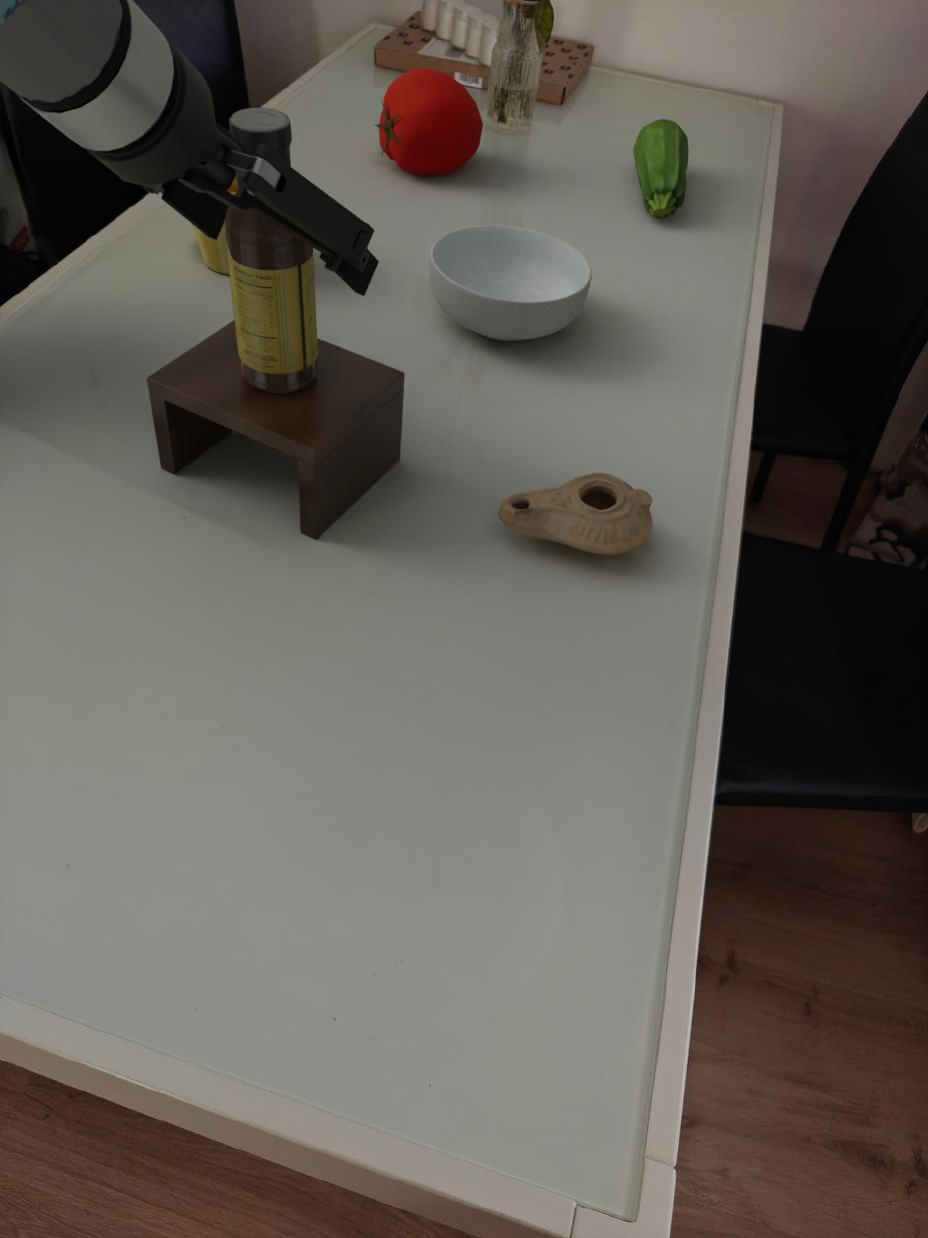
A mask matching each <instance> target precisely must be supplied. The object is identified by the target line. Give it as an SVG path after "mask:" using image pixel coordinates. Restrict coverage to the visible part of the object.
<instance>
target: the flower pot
mask: <svg viewBox="0 0 928 1238" xmlns="http://www.w3.org/2000/svg"><path fill="white" fill-rule="evenodd" d="M236 175H237V174H236ZM237 189H238V188H237V181H236V176H235V178H234V181H233V183H232V185H231V187H230V188H229V189H228V190H226V191H228V192H229V193H231V194H233V195H235V193H236V191H237ZM225 220H226V219H225ZM191 224H192V223H191ZM225 224H226V223H225V221H224V224H223V226H222V229H221V231H220V233H219V236H218V238H217V240H214V239H212V238H209V237H208V236H207V235H205V234H204V233H203V232H202V231H200V230H199V229H198V228H197V227H195V226H194V225H193V224H192V227H193V231H194V234H195V237H196V240H197V243H198V246H199V250H200V253H201V256H202V259H203V262H204V264H205V265H206V266H207V267H208V268H209V269H210V270H212V271H214V272H215V273H216V272H217V273H219V274H223V275H229V276H230V273H229V264H228V256H227V251H226V250H227V249H226V237H225V232H226V226H225Z"/></svg>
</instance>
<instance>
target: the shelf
mask: <svg viewBox="0 0 928 1238" xmlns="http://www.w3.org/2000/svg"><path fill="white" fill-rule="evenodd" d="M317 343H318V355H317V372H316V375H315V377H314V379H313V380H312V382H311V383H310V384H309V385H308V386H306V387H305V388H303V389H299V390H297V391H293V392H288V393H284V394H277V393H272V392H268V391H263V390H260V389H258V388H255V387H253V386H252V385H250V384H249V383H248V381H247V380H246V378H245V376H244V374H243V372H242V366H241V359H240V357H239V353H238V345H237V337H236V328H235V319H233V320H232V321H230V322H229V323H227V324H225V325H224V326H223V327H221V328H220V329H218V330H217V331H215V332H214V333H212V334H210V335H209V336H207V337H206V338H204V339H203V340H201V341H200V342H198V343H197V344H195V345H194V346H193V347H191V348H189V349H187V351H185V352H183V353H182V354H181V355H179V356H177V357H176V358H174V359H173V360H171V361H169V362H168V363H167V364H166V365H164V366H162V367H161V368H159V369H157V370H156V371H155V372H153V373H151V374H150V375H148V376H147V377H146V384H147V388H148V389H147V390H148V393H149V394H148V397H149V403H150V409H151V415H152V421H153V427H154V428H153V429H154V434H155V440H156V446H157V452H158V458H159V465H160V468H161V469H162V470H164V471H166V472H168V473H171V474H173V475H178V474H179V473H180V472H181V471H182V470H184V469H185V468H186V467H188V466H189V465H190V464H191V463H193V462H194V461H195V460H197V459H198V458H200V457H201V456H203V454H204V453H206V452H208V451H209V450H210V449H211V448H212V447H214V446H215V445H216V444H217V443H219V442H220V441H222V439H224V438H225V437H226V436H228V435H229V434H231V432H233V431H234V432H236V433H239V434H240V435H243V436H245V437H248V438H250V439H252V440H254V441H257V442H259V443H261V444H263V445H266V446H268V447H270V448H273V449H275V450H277V451H280V452H281V453H284V454H286V455H289V456H291V457H293V458H296V459H297V470H298V471H297V475H298V498H299V499H298V501H299V502H298V503H299V529H300V534H301V535H302V534H303V535H304V536H307V537H309V538H311V539H313V540H316V541H317V540H319V538H320V537H322V536H323V535H324V534H325V533H326V532H327V531H328V530H329V529H330V528H331V527H332V526H333V525H334V524H335V523H336V522H337V521H338V520H339V519H340V518H342V516H343V515H344V514H345V513H346V512H347V511H348V510H349V509H351V508H352V506H353V505H354V504H356V502H358V500H360V499H361V498H362V497H363V496H364V495H365V494H366V493H367V492H368V491H369V490H371V488H373V486H374V485H375V484H376V483H377V482H378V481H380V480H381V478H383V476H385V475H386V474H387V472H389V471H390V469H392V468H393V467H394V466H395V465H396V464H397V463H398V462H399V461H400V460H401V450H402V448H401V447H402V433H403V430H402V429H403V414H404V400H405V399H404V398H405V397H404V396H405V377H406V376H405V375H406V373H405V371H403V370H399V369H397V368H394V367H392V366H389V365H387V364H384V363H381V362H378V361H377V360H375V359H372V358H368V357H366V356H364V355H362V354H359V353H357V352H354V351H351V350H348V349H346V348H343V347H341V346H339V345H336V344H334V343H331V342H329V341H326V340H324V339H321V338H319V337H317Z"/></svg>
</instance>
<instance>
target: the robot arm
mask: <svg viewBox="0 0 928 1238" xmlns="http://www.w3.org/2000/svg"><path fill="white" fill-rule="evenodd" d="M0 82H1V83H2V84H3V85H5V86H6V87H7V88H8V89H10V90H11V91H12V92H14V93H15V94H16V95H17V96H18V97H19V99H20V100H21V101H22V102H23V103H25V104H26V105H27V106H29V107H30V108H31V109H32V110H33V111H35V112H36V113H37V114H38V115H39V116H41V117H42V118H43V119H45V120H46V121H47V122H48V123H50V124H51V125H52V126H53V127H54V128H56V129H57V130H58V131H59V132H61V133H62V134H63V135H64V136H66V137H67V138H68V139H70V141H73V142H74V143H75V144H77V145H79V146H80V147H81V148H83V149H84V150H85V151H86V152H87V153H88V154H90V155H91V156H93V157H94V158H95V159H96V160H98V161H99V162H100V163H101V164H103V165H104V166H105V167H106V168H108V169H109V170H110V171H112V172H113V173H114V174H115V175H116V176H118V178H120V180H121V181H123V182H125V183H131V184H134V185H138V186H141V187H142V188H143V189H144V190H145V191H146V192H148V193H149V194H151V195H153V194H154V195H159V194H161V198H160V199H161V200H162V201H163V202H165V203H166V205H168V206H170V207H171V208H172V209H173V210H175V211H176V212H177V213H178V214H179V215H181V216H182V217H183V218H184V219H186V220H187V222H189V223H191V224H193V225H194V226H195V227H197V228H198V229H199V230H200V231H202V232H203V233H204V234H205V235H207V236H208V237H209V238H212V239H214V240H217V238H218V236H219V233H220V231H221V229H222V226H223V224H224V221H225V219H226V212H227V209H228V206H229V207H231V208H232V209H234V210H236V211H243V210H248V209H250V210H251V211H253V212H255V213H256V214H258V215H260V216H261V217H263V218H265V219H266V220H268V221H270V222H271V223H273V224H275V225H276V226H278V227H280V228H281V229H283V230H285V231H286V232H288V233H290V234H291V235H293V236H295V237H296V238H298V239H300V240H301V241H303V242H305V243H306V244H308V245H310V246H311V247H313V249H314V250H316V251H318V252H319V253H320V254H319V255H318V258H319V259H320V260H321V261H322V262H323V263H325V265H324V269H325V270H328V271H331V272H333V273H335V274H336V275H337V276H338V277H339V279H341V280H342V281H343V282H344V283H345V284H346V285H347V286H348V287H349V288H350V289H351V290H352V291H353V292H354V293H355V294H357V295H361V296H362V297H365V296H366V293H367V291H368V288H369V286H370V284H371V282H372V279H373V277H374V274H375V272H376V270H377V268H378V266H379V262H380V261H379V260H378V259H377V258H376V256H375V255H374V254H373V253H372V252H371V251H370V250H369V245H370V243H371V240H372V239H373V236H374V233H375V231H376V230H375V229H374V227H372V226H371V224H369V223H367V222H365V221H364V220H363V219H362V218H360V217H359V216H357V215H356V214H355V213H354V212H353V211H351V210H349V209H348V208H346V206H344V205H343V204H342V203H340V202H338V201H337V200H336V199H335V198H333V197H332V196H331V195H329V194H328V193H327V192H325V191H324V190H323V189H321V188H320V187H318V185H316V184H314V183H313V182H312V181H311V180H309V179H308V178H307V177H305V176H304V175H303V174H301V173H300V172H299V171H297V170H296V169H295V168H293V167H292V165H291V166H290V165H289V164H287V163H286V162H285V161H284V160H283V159H282V158H281V157H280V156H279V155H278V154H277V153H276V152H275V151H274V150H273V148H271V147H270V146H268V145H264V144H258V147H257V149H256V151H255V152H254V151H252V150H251V149H249V148H248V147H246V146H244V145H243V144H241V143H240V142H238V141H237V140H235V139H234V138H233V137H232V135H231V133H230V130H228V129H227V128H225V127H224V126H223V125H221V124H220V123H218V122H217V121H216V116H215V114H216V113H215V108H214V100H213V96H212V93H211V89H210V87H209V84H208V83H207V81H206V79H205V77H204V76H203V75H202V74H201V72H200V71H199V70H198V69H197V68H196V67H195V65H194V64H192V62H191V61H190V60H189V59H188V58H187V56H185V55H184V54H183V53H182V51H181V50H180V49H179V48H178V47H177V45H175V44H174V42H172V40H171V39H170V38H168V37H167V36H166V35H164V34H163V32H162V31H161V30H160V29H159V28H158V26H157V25H155V23H154V22H153V21H152V20H151V19H150V18H149V16H148V15H147V14H145V12H144V11H143V10H142V9H141V8H140V7H139V5H138V4H137V3H136V2H135V1H134V0H0ZM236 174H239V175H242V176H243V177H244V179H243V181H242V183H241V186H240V188H239V191H238V193H237V196H234V195H233V194H231V193H229V192H228V191H226V190H228V189H229V188H230V187H231V185H232V183H233V181H234V178H235V176H236ZM193 225H192V226H193Z"/></svg>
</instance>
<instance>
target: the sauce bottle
mask: <svg viewBox="0 0 928 1238" xmlns="http://www.w3.org/2000/svg"><path fill="white" fill-rule="evenodd" d="M228 127H229V132H230V133H231V135H232V137H233V138H234V139H235V140H237V141H238V142H240V143H241V144H243V145H244V146H246V147H248V148H249V149H251V150H252V151H254V152H255V151H256V149H257V147H258V144H264V145H268V146H270V147H271V148H273V150H274V151H275V152H276V153H277V154H278V155H279V156H280V157H281V158H282V159H283V160H284V161H285V162H286V163H287V164H289V165H290V166H291V167H292V163H291V143H292V141H293V134H292V124H291V120H290V117H289V115H287V114H286V113H284V112H283V111H281V110H278V109H275V108H270V107H249V108H243V109H239V110H237V111H235V112H234V113H232V114H231V117H230V118H229V120H228ZM243 179H244V177H243V176H242V175H239V174H237V175H236V181H237V188H238V189H237V191H236V193H235V195H234V196H237V193H238V191H239V188H240V186H241V183H242V181H243ZM225 223H226V224H225V226H226V232H225V237H226V249H227V250H226V251H227V256H228V264H229V273H230V275H229V282H230V291H231V299H232V300H231V301H232V310H233V318H234V320H235V328H236V337H237V345H238V353H239V357H240V359H241V366H242V372H243V374H244V376H245V378H246V380H247V381H248V383H249V384H250V385H252V386H253V387H255V388H258V389H260V390H263V391H268V392H272V393H277V394H284V393H288V392H293V391H297V390H299V389H303V388H305V387H306V386H308V385H309V384H310V383H311V382H312V380H313V379H314V377H315V375H316V372H317V355H318V343H317V338H318V323H317V322H318V321H317V301H316V282H315V281H316V279H315V276H316V275H315V259H314V257H315V256H314V248H313V247H311V246H310V245H308V244H306V243H305V242H303V241H301V240H300V239H298V238H296V237H295V236H293V235H291V234H290V233H288V232H286V231H285V230H283V229H281V228H280V227H278V226H276V225H275V224H273V223H271V222H270V221H268V220H266V219H265V218H263V217H261V216H260V215H258V214H256V213H255V212H253V211H251V210H250V209H248V210H243V211H236V210H234V209H232V208H231V207H229V206H228V209H227V212H226V220H225Z"/></svg>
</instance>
